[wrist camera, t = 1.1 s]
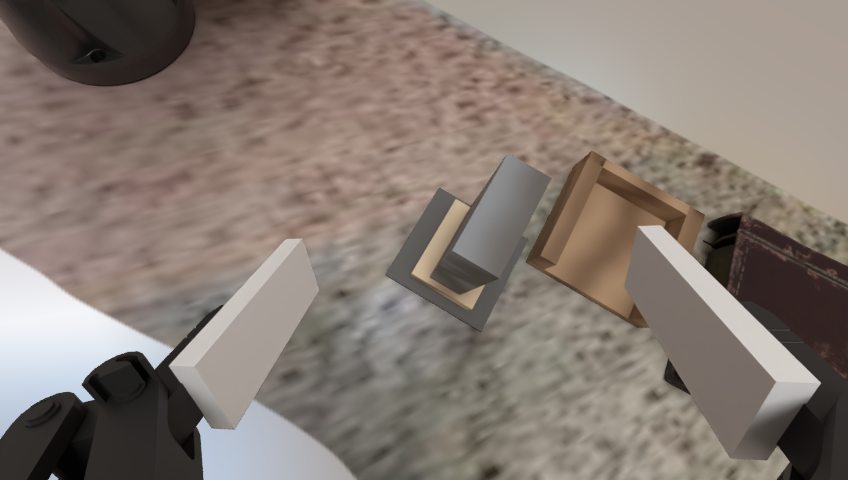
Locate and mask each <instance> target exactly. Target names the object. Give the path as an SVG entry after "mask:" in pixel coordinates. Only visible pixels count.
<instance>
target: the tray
mask: <svg viewBox="0 0 848 480" xmlns="http://www.w3.org/2000/svg"><path fill="white" fill-rule="evenodd" d="M704 216H705V215H704V214H703V213H701V212H699V211H697V210H695V209H694V208H692V207H690V206H688V205H687V204H685V203H683V202H681V201H680V200H678V199H676V198H674V197H673V196H671V195H669V194H667V193H665V192H664V191H662V190H660V189H658V188H657V187H655V186H653V185H651V184H650V183H648V182H646V181H644V180H642V179H641V178H639V177H637V176H635V175H634V174H632V173H630V172H628V171H627V170H625V169H623V168H621V167H620V166H618V165H616V164H614V163H612V162H611V161H609V160H607V159H605V158H604V157H602V156H600V155H598V154H597V153H595V152H593V151H591V152H590V153H589V154H588V155H587V156H585V157H584V158H583V159H582V160H581V161H580V162H578V163H577V164H576V165H575V166H574V167H573V169H572V171H571V173H570V175H569V177H568V179H567V181H566V183H565V185H564V187H563V189H562V191H561V193H560V195H559V197H558V199H557V201H556V203H555V205H554V207H553V209H552V211H551V213H550V215H549V217H548V219H547V221H546V223H545V225H544V227H543V229H542V231H541V233H540V235H539V237H538V239H537V241H536V243H535V245H534V247H533V249H532V251H531V253H530V255H529V257H528V259H527V261H526V263H528V264H530V265H532V266H533V267H535V268H537V269H538V270H540V271H542V272H544V273H545V274H547V275H549V276H550V277H552V278H554V279H556V280H557V281H559V282H561V283H562V284H564V285H566V286H567V287H569V288H571V289H573V290H574V291H576V292H578V293H579V294H581V295H583V296H585V297H586V298H588V299H590V300H591V301H593V302H595V303H597V304H598V305H600V306H602V307H603V308H605V309H607V310H609V311H610V312H612V313H614V314H615V315H617V316H619V317H620V318H622V319H624V320H626V321H627V322H629V323H631V324H632V325H634V326H636V327H640V328H649V326H648V324H647V323H646V321H645V319H644V318H643V316H642V315H641V313H640V311H639V310H638V308H637V307H636V305H635V303H634V302H633V300H632V298H631V297H630V295H629V294H628V292H627V290H626V289H625V287H624V285H625V280H626V276H627V271H628V267H629V262H630V258H631V254H632V249H633V245H634V240H635V236H636V231H637V227H638V226H656V225H661V226H662V227H663V228H664V229H665V230H666V231H667V232H668V233H669V234H670V235H671V236H672V237H673V238H674V239H675V240H676V241H677V242H678V243H679V244H680V245H681V246H682V247H683V248H684V249H685V250H686V251H687V252H688V253H689V254H690V255H691V252H692V250H693V247H694V244H695V241H696V238H697V236H698V233H699V230H700V227H701V225H702V222H703V219H704Z"/></svg>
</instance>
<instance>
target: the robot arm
mask: <svg viewBox="0 0 848 480" xmlns="http://www.w3.org/2000/svg"><path fill="white" fill-rule="evenodd" d="M0 18H1V19H2V21H3V22H4V23H5V25H6V26H7V27H8V29H9V30H10V31H11V32H12V34H13V35H14V36H15V38H16V39H17V40H18V42H19V43H20V44H21V45H22V46H23V47H24V48H25V49H26V50H27V51H28V52H29V53H31V54H32V55H33V56H35V57H36V58H37V59H39V60H40V61H41V62H43V63H44V64H45V65H46V66H48V67H49V68H50V69H52V70H53V71H55V72H56V73H58V74H60V75H62V76H64V77H66V78H68V79H71V80H74V81H77V82H81V83H85V84H92V85H117V84H124V83H129V82H133V81H136V80H139V79H142V78H145V77H148V76H150V75H152V74H154V73H156V72H158V71H159V70H161V69H163V68H164V67H166V66H167V65H168V64H170V63H171V62H172V61H173V60H174V59H175V58H176V57H177V56H178V55H179V54H180V53H181V52H182V50H183V49H184V48H185V46H186V45H187V43H188V41H189V39H190V37H191V34H192V31H193V27H194V9H193V5H192V2H191V0H0ZM624 287H625V289H626V290H627V292H628V294H629V295H630V297H631V298H632V300H633V302H634V303H635V305H636V307H637V308H638V310H639V311H640V313H641V315H642V316H643V318H644V319H645V321H646V323H647V324H648V326H649V328H650V329H651V331H652V332H653V334H654V336H655V337H656V339H657V340H658V342H659V344H660V345H661V347H662V349H663V350H664V352H665V353H666V355H667V357H668V358H669V360H670V361H671V363H672V365H673V366H674V368H675V370H676V371H677V373H678V374H679V376H680V378H681V379H682V381H683V383H684V384H685V386H686V387H687V389H688V391H689V392H690V394H691V395H692V397H693V399H694V400H695V402H696V404H697V405H698V407H699V408H700V410H701V412H702V413H703V415H704V416H705V418H706V420H707V421H708V423H709V425H710V426H711V428H712V429H713V431H714V433H715V434H716V436H717V437H718V439H719V441H720V442H721V444H722V446H723V447H724V449H725V450H726V452H727V454H728V455H729V457H730V458H736V459H754V460H767V459H768V458H769V457H770V455H771V454H772V452H773V451H774V449H775V448H776V447H777V445H778V446H779V448H780V449H781V450H782V452H783V453H784V454H785V456H786V457H787V458H788V460H789V461H790V463H789V464H788V465H787V467H786V468H785V469H784V471H783V472H782V473H781V475H780V476H779V477H778V478H777V480H848V381H847V380H846V379H845V378H844V377H843V376H842V375H840V374H839V373H838V372H837V371H836V370H835V369H834V368H833V367H832V366H830V365H829V364H828V363H827V362H826V361H825V360H824V359H823V358H822V357H821V356H819V355H818V354H817V353H816V352H815V351H814V350H813V349H812V348H811V347H810V346H808V345H807V344H804V343H803V340H802V339H801V338H800V337H799V336H797V335H796V334H795V333H794V332H791V331H790V328H789V327H788V326H786V325H785V324H784V323H783V322H782V321H781V320H780V319H779V318H778V317H777V316H775V315H774V314H773V313H771V312H769V311H768V310H766V309H764V308H762V307H761V306H759V305H757V304H755V303H754V302H752V301H737V300H736V299H735V298H734V297H733V296H732V295H731V294H730V293H729V292H728V291H727V290H726V289H725V288H724V287H723V286H722V285H721V284H720V283H719V282H718V281H717V280H716V279H715V278H714V277H713V276H712V275H711V274H710V273H709V272H708V271H707V270H706V269H705V268H704V267H703V266H701V265H700V264H699V263H698V262H697V261H696V260H695V259H694V258H693V257H692V256H691V255H690V254H689V253H688V252H687V251H686V250H685V249H684V248H683V247H682V246H681V245H680V244H679V243H678V242H677V241H676V240H675V239H674V238H673V237H672V236H671V235H670V234H669V233H668V232H667V231H666V230H665V229H664V228H663V227H662V226H661V225H656V226H638V227H637V231H636V236H635V240H634V245H633V249H632V254H631V258H630V262H629V267H628V271H627V276H626V280H625V285H624ZM318 291H319V288H318V285H317V282H316V279H315V276H314V273H313V270H312V266H311V263H310V260H309V257H308V254H307V251H306V248H305V245H304V242H303V239H285V240H284V242H283V243H282V244H281V245H280V246H279V247H278V248H277V249H276V250H275V251H274V252H273V253H272V255H271V256H270V257H269V258H268V259H267V260H266V261H265V262H264V263H263V264H262V265H261V266H260V268H259V269H258V270H257V271H256V272H255V273H254V274H253V275H252V276H251V277H250V278H249V279H248V280H247V282H246V283H245V284H244V285H243V286H242V287H241V288H240V289H239V290H238V291H237V292H236V293H235V295H234V296H233V297H232V298H231V299H230V300H229V301H228V302H227V303H226V304H225V305H221V306H219V307H218V308H216V309H215V310H213V311H212V312H211V313H209V314H208V315H206V316H205V317H204V319H203V320H202V321H201V322H200V323H199V324H198V325H197V326H196V329H193V330H192V331H191V332H190V333H189V334H188V335H187V338H184V339H183V340H182V342H181V343H180V344H179V345H178V346H177V347H176V348H175V349H174V350H173V351H172V352H171V353H170V354H169V355H168V356H167V357H166V358H165V359H164V360H163V361H162V362H161V363H160V365H159V366H158V367H157V368H156V369H155V370H154V368H153V367H152V366H151V364H150V363H149V361H148V360H147V359H146V357H145V356H144V355H143V354H142V353H140V352H137V351H136V352H127V353H124V354H121V355H117V356H115V357H113V358H111V359H109V360H108V361H105V362H104V363H102V364H101V365H100V366H98V367H97V368H95V369H94V370H93V371H92V372H91V373H90V374H89V375H88V376H87V377H86V378H85V380H84V382H83V383H82V386H83V387H84V388H85V389H86V390H87V392H89V394H90V395H91V396H92V397H93V398H94V399H95V400H92V401H88V402H84V403H83V402H82V401H81V400H80V399H79V398H78V397H77V396H76V395H75V394H74V393H71V392H63V393H58V394H55V395H53V396H50V397H48V398H45V399H43V400H41V401H39V402H37V403H36V404H34V405H32V406H31V407H30V408H29V409H28V410H26V411H25V412H24V413H22V414H21V415H20V416H19V417H18V418H17V419H16V420H15V421H14V423H12V425H11V426H10V427H9V429H8V430H7V431H6V432H5V434H4V435H3V437H2V438H1V439H0V480H48V479H49V477H50V475H51V474H52V473H53V474H54V475H55V476H56V477H57V478H59V479H58V480H203V467H202V453H201V440H200V433H199V431H198V429H197V427H196V426H197V424H198V423H199V422H200V420H201V419H202V418H203V416H204V418H205V419H206V421H207V422H208V423H209V425H210V426H211V428H216V429H235V428H236V427H237V425H238V423H239V422H240V420H241V418H242V417H243V415H244V413H245V412H246V410H247V408H248V407H249V405H250V403H251V402H252V400H253V399H254V397H255V395H256V394H257V392H258V390H259V389H260V387H261V385H262V384H263V382H264V380H265V379H266V377H267V375H268V374H269V372H270V370H271V369H272V367H273V365H274V364H275V362H276V361H277V359H278V357H279V356H280V354H281V352H282V351H283V349H284V347H285V346H286V344H287V342H288V341H289V339H290V337H291V336H292V334H293V332H294V331H295V329H296V327H297V326H298V324H299V322H300V321H301V319H302V318H303V316H304V314H305V313H306V311H307V309H308V308H309V306H310V304H311V303H312V301H313V299H314V298H315V296H316V294H317V293H318Z"/></svg>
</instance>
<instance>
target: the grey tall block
mask: <svg viewBox="0 0 848 480" xmlns="http://www.w3.org/2000/svg"><path fill="white" fill-rule="evenodd" d="M550 180H551V178H550V177H549V176H547V175H545V174H543V173H542V172H540V171H538V170H536V169H535V168H533V167H531V166H529V165H528V164H526V163H524V162H522V161H521V160H519V159H517V158H515V157H514V156H512V155H510V154H507V155H506V157H505V158H504V160H503V161H502V162H501V164H500V165H499V167H498V168H497V170H496V171H495V173H494V174H493V175H492V177H491V178H490V180H489V181H488V183H487V184H486V186H485V187H484V188H483V190H482V191H481V193H480V194H479V196H478V197H477V199H476V200H475V201H474V203H473V204H472V206H471V207H469V206H467V205H466V204H464V203H462V202H461V201H459V200H457V199H456V200H455V201H454V203H453V205H452V206H451V208H450V210H449V211H448V213H447V215H446V216H445V218H444V220H443V221H442V223H441V225H440V226H439V228H438V230H437V231H436V233H435V235H434V236H433V238H432V240H431V241H430V243H429V245H428V246H427V248H426V250H425V251H424V253H423V255H422V256H421V258H420V260H419V261H418V263H417V265H416V267H415V268H414V270H413V272H412V273H411V276H410V277H412V278H414V279H415V280H417V281H419V282H420V283H422V284H424V285H425V286H427V287H429V288H430V289H432V290H434V291H435V292H437V293H439V294H441V295H442V296H444V297H446V298H447V299H449V300H451V301H452V302H454V303H456V304H457V305H459V306H461V307H462V308H464V309H466V310H471V309H473V307H474V305H475V303H476V301H477V299H478V297H479V295H480V293H481V292H482V290H483V288H484V286H485V284H488V283H490V282H492V281H495V280H497V279H500V277H501V275H502V273H503V271H504V269H505V267H506V265H507V263H508V261H509V259H510V257H511V255H512V254H513V252H514V250H515V248H516V246H517V244H518V242H519V240H520V238H521V236H522V234H523V232H524V230H525V228H526V227H527V225H528V223H529V221H530V219H531V217H532V215H533V213H534V211H535V209H536V207H537V205H538V203H539V201H540V200H541V198H542V196H543V194H544V192H545V190H546V188H547V186H548V184H549V182H550Z"/></svg>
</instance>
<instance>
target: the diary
mask: <svg viewBox="0 0 848 480" xmlns="http://www.w3.org/2000/svg"><path fill="white" fill-rule="evenodd" d="M707 227H708V228H710V229H712V230H714V231H716V232H718V233H720V234H722V235H724V236H723V237H721V238H719V239H717V240H716V241H714V242H712V243H711V244H710V243H708V242H706V241H704V240H703V242H705V243H707V244H709V245H711V246H712V247H713V248H715V249H716V250H714V251H712V252H710V253H709V254H708V257H707V261H706V264H705V269H706V270H707V271H708V272H709V273H710V274H711V275H712V276H713V277H714V278H715V279H716V280H717V281H718V282H719V283H720V284H721V285H722V286H723V287H724V288H725V289H726V290H727V291H728V292H729V293H730V294H731V295H732V296H733V297H734V298H735V299H736V300H737V301H752V302H754V303H755V304H757V305H759V306H761V307H762V308H764V309H766V310H768V311H769V312H771V313H773V314H774V315H775V316H777V317H778V318H779V319H780V320H781V321H782V322H783V323H784V324H785V325H786V326H788V327H789V328H790V331H791V332H794V333H795V334H796V335H797V336H799V337H800V338H801V339H802V340H803V343H804V344H807V345H808V346H810V347H811V348H812V349H813V350H814V351H815V352H816V353H817V354H818V355H819V356H821V357H822V358H823V359H824V360H825V361H826V362H827V363H828V364H829V365H830V366H832V367H833V368H834V369H835V370H836V371H837V372H838V373H839V374H840V375H842V376H843V377H844V378H845V379H846V380H847V381H848V266H846V265H844V264H842V263H840V262H837V261H835V260H833V259H831V258H829V257H827V256H825V255H823V254H821V253H819V252H816V251H814V250H812V249H810V248H808V247H806V246H804V245H802V244H800V243H798V242H797V241H795V240H793V239H791V238H789V237H788V236H786V235H784V234H782V233H780V232H779V231H777V230H775V229H773V228H771V227H770V226H768V225H766V224H764V223H763V222H761V221H759V220H757V219H755V218H754V217H752V216H750V215H748V214H746V213H744V212H739V213H734V214H730V215H727V216H724V217H721V218H718V219H716V220H714V221H712V222H710V223H708V224H707ZM666 380H667V381H668V382H669V383H671V384H672V385H674V386H676V387H677V388H679V389H681V390H683V391H685V392H687V393H688V394H690V392H689V391H688V389H687V387H686V386H685V384H684V383H683V381H682V379H681V378H680V376H679V374H678V373H677V371H676V370H675V368H674V366H673V365H672V363H671V361H670V360H668V364H667V368H666ZM690 395H691V394H690Z"/></svg>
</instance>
